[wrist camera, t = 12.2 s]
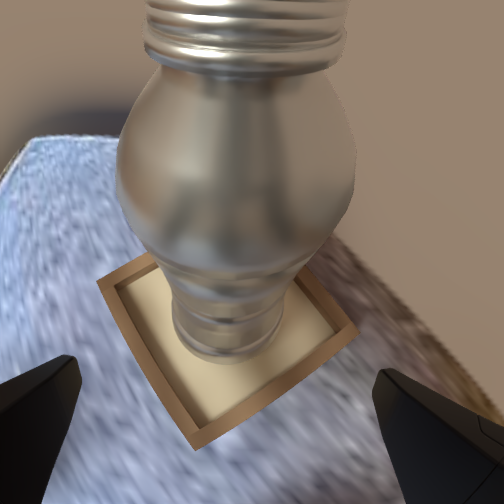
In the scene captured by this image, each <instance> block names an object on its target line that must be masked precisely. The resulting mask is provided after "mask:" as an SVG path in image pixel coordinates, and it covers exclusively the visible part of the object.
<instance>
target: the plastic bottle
mask: <svg viewBox="0 0 504 504" xmlns="http://www.w3.org/2000/svg"><path fill="white" fill-rule="evenodd" d="M349 2H350V0H145V8H146V19H145V20H144V22H143V24H142V32H143V40H144V47H145V51H146V53H147V54H148V55H149V56H150V58H152V59H154V60H155V61H157V62H159V63H160V66H159V67H158V68H157V70H156V71H155V73H154V74H153V76H152V77H151V78H150V80H149V81H148V83H147V84H146V86H145V87H144V89H143V90H142V92H141V94H140V95H139V97H138V99H137V100H136V102H135V104H134V106H133V108H132V110H131V112H130V114H129V116H128V119H127V121H126V123H125V125H124V127H123V130H122V132H121V134H120V138H119V143H118V147H117V154H116V168H115V184H116V195H117V198H118V200H119V203H120V206H121V208H122V211H123V213H124V215H125V217H126V219H127V220H128V222H129V224H130V226H131V228H132V230H133V232H134V233H135V235H136V236H137V237H138V239H139V240H140V241H141V243H142V244H143V246H144V247H145V248H146V250H147V251H148V252H149V254H150V255H151V256H152V258H153V259H154V261H155V262H156V263H157V265H158V266H159V267H160V269H161V270H162V271H163V273H164V275H165V277H166V280H167V282H168V284H169V286H170V288H171V293H172V302H171V306H172V322H173V326H174V330H175V332H176V334H177V336H178V338H179V340H180V342H181V343H182V344H183V345H184V347H185V348H186V349H187V350H188V351H189V352H191V353H192V354H193V355H194V356H196V357H198V358H200V359H202V360H204V361H206V362H210V363H214V364H221V365H231V364H239V363H242V362H245V361H248V360H250V359H252V358H254V357H256V356H257V355H259V354H261V353H262V352H263V351H264V350H265V349H266V348H268V347H269V345H270V344H271V343H272V341H273V340H274V339H275V337H276V335H277V333H278V331H279V329H280V326H281V322H282V318H283V312H284V296H285V293H286V291H287V289H288V287H289V286H290V284H291V282H292V281H293V279H294V278H295V276H296V274H297V273H298V272H299V271H300V270H301V269H302V267H303V266H304V265H305V264H306V263H307V262H308V261H309V260H310V258H311V257H312V256H313V255H314V254H315V253H316V252H317V250H318V249H319V248H320V247H321V246H322V245H323V244H324V243H325V241H326V240H327V239H328V237H329V236H330V234H331V233H332V232H333V230H334V229H335V227H336V226H337V224H338V223H339V221H340V220H341V218H342V217H343V215H344V214H345V212H346V210H347V208H348V206H349V203H350V201H351V198H352V195H353V191H354V180H355V179H354V178H355V166H356V146H355V142H354V137H353V134H352V131H351V128H350V125H349V122H348V119H347V116H346V113H345V110H344V107H343V106H342V103H341V101H340V100H339V97H338V95H337V94H336V92H335V90H334V88H333V86H332V84H331V82H330V81H329V79H328V77H327V75H326V73H325V72H324V69H327V68H329V67H331V66H332V65H334V64H336V63H337V62H338V60H339V59H340V58H341V56H342V52H343V49H344V45H345V41H346V34H347V32H346V30H345V28H344V23H345V19H346V14H347V10H348V6H349Z"/></svg>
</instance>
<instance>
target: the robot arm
mask: <svg viewBox="0 0 504 504" xmlns="http://www.w3.org/2000/svg"><path fill="white" fill-rule="evenodd" d="M81 385H82V377H81V373H80V370H79V366H78V362H77V359H76V358H75V357H74V356H70V355H61V356H59V357H57V358H55V359H52V360H50V361H48V362H46V363H44V364H42V365H40V366H38V367H36V368H34V369H31V370H29V371H27V372H25V373H23V374H21V375H19V376H17V377H15V378H12V379H10V380H8V381H6V382H4V383H2V384H0V504H41V503H42V500H43V497H44V493H45V490H46V488H47V485H48V482H49V479H50V476H51V473H52V470H53V468H54V465H55V462H56V459H57V457H58V454H59V452H60V449H61V446H62V444H63V441H64V439H65V436H66V434H67V431H68V429H69V426H70V423H71V420H72V416H73V413H74V409H75V406H76V402H77V399H78V395H79V392H80V389H81ZM372 398H373V402H374V406H375V410H376V414H377V418H378V422H379V426H380V430H381V434H382V437H383V440H384V443H385V446H386V448H387V451H388V454H389V456H390V459H391V462H392V465H393V468H394V470H395V473H396V476H397V479H398V482H399V485H400V487H401V490H402V493H403V496H404V499H405V502H406V504H504V427H502V426H500V425H498V424H496V423H494V422H492V421H490V420H488V419H486V418H484V417H482V416H480V415H477V414H476V413H474V412H472V411H470V410H469V409H467V408H465V407H463V406H461V405H459V404H457V403H455V402H453V401H452V400H450V399H448V398H446V397H444V396H442V395H440V394H439V393H437V392H435V391H433V390H431V389H429V388H428V387H426V386H424V385H422V384H420V383H418V382H417V381H415V380H413V379H411V378H409V377H408V376H406V375H404V374H402V373H400V372H399V371H397V370H395V369H393V368H388V369H381V370H380V371H379V372H378V375H377V378H376V381H375V384H374V387H373V390H372Z"/></svg>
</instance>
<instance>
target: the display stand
mask: <svg viewBox="0 0 504 504" xmlns="http://www.w3.org/2000/svg"><path fill="white" fill-rule="evenodd" d="M96 282H97V284H98V286H99V289H100V291H101V293H102V295H103V297H104V299H105V301H106V303H107V305H108V308H109V310H110V312H111V314H112V316H113V318H114V320H115V322H116V324H117V325H118V327H119V329H120V331H121V333H122V335H123V337H124V339H125V341H126V343H127V344H128V346H129V348H130V350H131V352H132V354H133V355H134V357H135V359H136V361H137V362H138V364H139V366H140V368H141V369H142V371H143V373H144V374H145V376H146V378H147V379H148V381H149V383H150V384H151V386H152V388H153V389H154V391H155V393H156V394H157V396H158V397H159V399H160V401H161V402H162V404H163V405H164V407H165V408H166V410H167V411H168V413H169V414H170V416H171V417H172V419H173V420H174V422H175V423H176V425H177V426H178V428H179V429H180V431H181V432H182V434H183V435H184V436H185V438H186V439H187V441H188V442H189V443H190V445H191V446H192V448H193V449H194V450H195V451H196V450H198V449H200V448H202V447H203V446H205V445H207V444H208V443H210V442H212V441H213V440H215V439H217V438H218V437H220V436H222V435H223V434H225V433H226V432H228V431H229V430H231V429H233V428H234V427H236V426H237V425H239V424H240V423H242V422H243V421H245V420H247V419H248V418H250V417H251V416H253V415H254V414H256V413H257V412H258V411H260V410H261V409H263V408H264V407H266V406H267V405H269V404H270V403H272V402H273V401H274V400H276V399H277V398H279V397H280V396H281V395H283V394H284V393H286V392H287V391H288V390H290V389H291V388H292V387H294V386H295V385H296V384H298V383H299V382H300V381H302V380H303V379H304V378H306V377H307V376H308V375H310V374H311V373H312V372H313V371H315V370H316V369H317V368H319V367H320V366H321V365H322V364H324V363H325V362H326V361H327V360H329V359H330V358H331V357H332V356H334V355H335V354H336V353H337V352H338V351H340V350H341V349H342V348H343V347H344V346H346V345H347V344H348V343H349V342H350V341H352V340H353V339H354V338H355V337H356V336H357V335H359V334H360V333H361V332H360V331H359V330H358V329H357V327H356V326H355V325H354V324H353V322H352V321H351V320H350V319H349V318H348V316H347V315H346V314H345V313H344V311H343V310H342V309H341V308H340V306H339V305H338V304H337V303H336V301H335V300H334V299H333V298H332V297H331V295H330V294H329V293H328V292H327V290H326V289H325V288H324V287H323V286H322V284H321V283H320V282H319V281H318V279H317V278H316V277H315V276H314V275H313V273H312V272H311V271H310V270H309V269H308V267H307V266H306V265H304V266H303V267H302V269H301V270H300V271H299V272H298V273H297V274H296V276H295V278H294V279H293V281H292V282H291V284H290V286H289V287H288V289H287V291H286V293H285V296H284V312H283V318H282V322H281V326H280V329H279V331H278V333H277V335H276V337H275V339H274V340H273V341H272V343H271V344H270V345H269V347H268V348H266V349H265V350H264V351H263V352H262V353H261V354H259V355H257V356H256V357H254V358H252V359H250V360H248V361H245V362H242V363H239V364H231V365H221V364H214V363H210V362H206V361H204V360H202V359H200V358H198V357H196V356H194V355H193V354H192V353H191V352H189V351H188V350H187V349H186V348H185V347H184V345H183V344H182V343H181V342H180V340H179V338H178V336H177V334H176V332H175V330H174V326H173V322H172V306H171V302H172V293H171V288H170V286H169V284H168V282H167V280H166V277H165V275H164V273H163V271H162V270H161V269H160V267H159V266H158V265H157V263H156V262H155V261H154V259H153V258H152V256H151V255H150V254H149V252H146V253H144V254H143V255H141V256H139V257H137V258H136V259H134V260H132V261H130V262H128V263H127V264H125V265H123V266H121V267H120V268H118V269H116V270H115V271H113V272H111V273H109V274H108V275H106V276H104V277H102V278H101V279H99V280H97V281H96Z"/></svg>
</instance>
